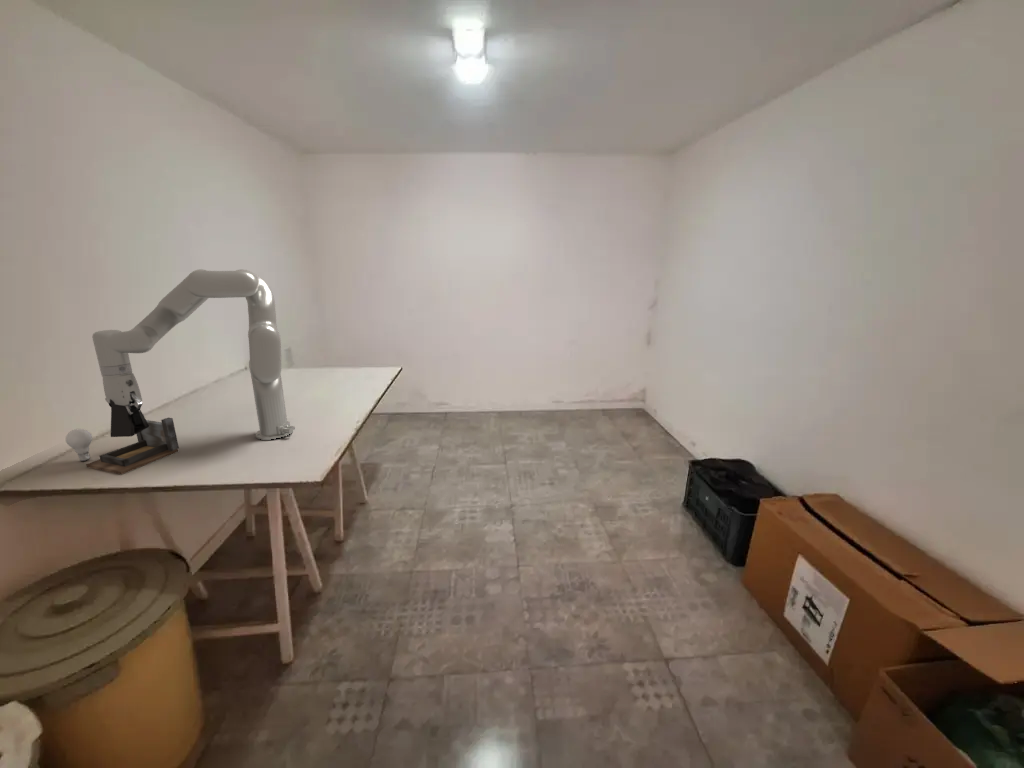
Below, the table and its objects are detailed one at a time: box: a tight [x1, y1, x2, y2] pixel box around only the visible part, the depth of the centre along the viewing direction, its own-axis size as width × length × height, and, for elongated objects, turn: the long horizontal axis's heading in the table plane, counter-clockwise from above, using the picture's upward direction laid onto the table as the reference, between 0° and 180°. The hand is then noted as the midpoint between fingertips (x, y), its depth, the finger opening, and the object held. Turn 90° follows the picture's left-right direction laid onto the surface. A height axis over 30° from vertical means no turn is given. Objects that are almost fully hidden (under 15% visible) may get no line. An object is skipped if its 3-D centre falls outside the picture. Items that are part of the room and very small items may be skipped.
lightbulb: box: [65, 428, 93, 462], centre depth 151 cm, size 6×6×11 cm
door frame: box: [86, 413, 180, 476], centre depth 152 cm, size 16×18×12 cm
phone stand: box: [110, 399, 149, 438], centre depth 150 cm, size 9×6×12 cm, turn 5°
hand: (128, 423), depth 151 cm, fingers closed on phone stand, 6 cm apart
